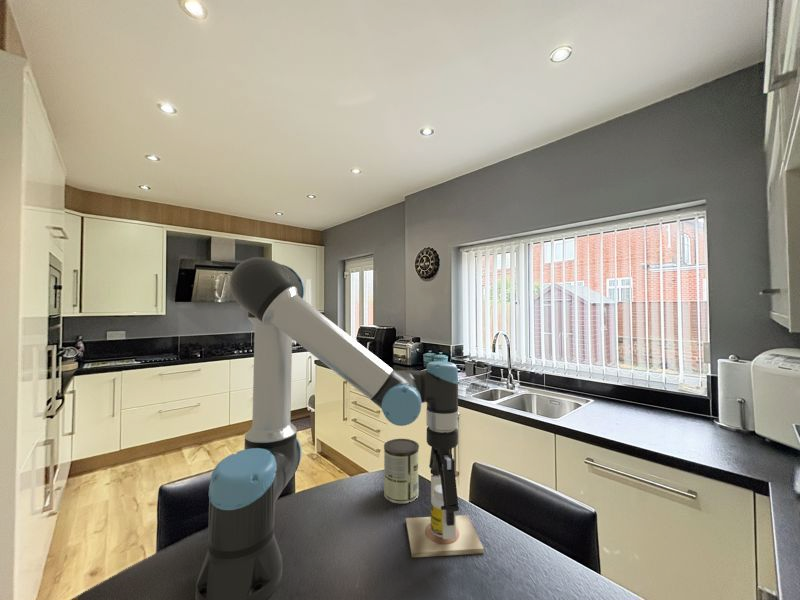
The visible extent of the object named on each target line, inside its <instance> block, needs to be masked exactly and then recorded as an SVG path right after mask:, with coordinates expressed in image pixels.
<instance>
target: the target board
mask: <svg viewBox="0 0 800 600" xmlns="http://www.w3.org/2000/svg"><path fill="white" fill-rule="evenodd" d="M405 524H406V531H407V537H408V543H409V549H410V555H411V558H424V557H425V558H427V557H429V558H430V557H444V556H459V555H460V556H462V555H475V554H476V555H477V554H484V553H485V551H484V550H485V549H484V546H483V544H482V542H481V540H480V537H479V536H478V533H477V531H476V529H475V527H474V525H473V523H472V521H471V519H470V517H469V515H468V514H462V515H460V514H459V515H456V539H443V538H441V537H438V536H436V535H434V534H433V533H432V531H431V516H423V517H422V516H419V517H406V518H405Z"/></svg>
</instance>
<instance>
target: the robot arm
mask: <svg viewBox="0 0 800 600" xmlns="http://www.w3.org/2000/svg"><path fill="white" fill-rule="evenodd" d="M233 269H234V270H233V271H232V273H231V275H230V279H229V289H230V293H231V295H232V298H233V299H234V300H235V301H236V302H237V304H239V305H240V306H241V307H242V308H243V309H245V310H246V311H247V319H248V320H249V321H250V322H251V323H252V324H253V326H254V338H253V341H254V342H253V343H254V344H253V345H254V346H253V377H252V379H253V382H252V385H253V387H252V423H251V424H252V426H251V427H250V428H249V430H247V431H246V432H245V435H244V448H243V449H242V450H238V451H237V452H236V453H231V454H229V455H227V456H226V457H224V458H223V459H222V460H220V461H219V462H218V464H216V466H215V467H214V468H213V470H212V473H211V475H210V483H209V487H208V498H209V499H208V500H209V501H208V504H209V505H208V528H207V529H208V531H207V532H208V533H207V534H208V538H207V541H208V543H207V552H206V555H205V557H204V558H205V559H204V560H203V563H202V566H201V569H200V572H199V574H198V577H197V580H196V585H195V593H194V594H195V597H194V599H195V600H268V599H269V598H270V597H271V596H272V595H273V594H274V592H275V591H276V590H277V588H278V587H279V585H280V583H281V580H282V577H283V555H282V553H281V550H280V548H279V544H278V541H277V539H276V535H275V514H276V513H275V509H276V508H275V507H276V502H277V500H278V498H279V497H280V496H281V494H282V492H283V490H284V489H285V488H286V486H287V485H288V483H290V481H291V479H292V477H293V476H295V473H296V472H297V470H298V468H299V466H300V462H301V459H302V446H301V442H300V440H299V438H297V433H298V432H297V431H298V430H297V427H296V426H295V425H294V424H293V423H292V422H291V414H292V413H291V412H292V411H291V407H292V403H291V402H292V361H293V360H292V359H293V358H292V356H293V355H292V354H293V341H295V343H297V344H298V345H299V346H301V347H302V348H303V349H305V350H306V351H307V352H309V353H310V354H311V355H312V356H314V357H315V358H316V359H318V360H319V361H320V362H321V363H323V364H324V365H326V366H327V367H328V368H329V369H331V370H332V371H333V372H334V373H336V375H338V376H340V377H341V378H342V380H344V381H346V382H347V383H348V384H350V385H351V386H352V387H353V388H354V389H356V390H357V391H359V392H360V393H361V394H363V395H364V396H365V397H366V398H368V399H369V400H370V401H371V402H373V403H374V404H375V405H376V406H378V407H379V408H380V409H381V412H382V413H383V415H384V417H385V418H386V420H387V421H388V422H389V423H391V424H392V425H395V426H399V427H405V426H408V425H410V424H412V423H413V422H415V421H416V420H417V419H418V418H419V416H420V414H421V409H422V403H423V404H424V403H426V409H425V410H426V426H427V427H426V444H427V445H428V446H430V447H431V450H430V457H429V465H428V467H429V469H430V474H431V475H430V500H431V499H432V497H433V496H434V487H435V486H437V485H441V486H442V494H443V502H444V506H441V510H443V539H456V516H457V515H456V513H457V512H459V510H460V507H459V500H458V491H457V489H458V488H457V481H456V480H457V479H456V478H457V477H456V470H455V469H456V466H455V465H456V464H455V463H456V460H455V458H453V455H452V453H451V450H452V449H454V448H456V447H457V446H458V444H459V429H458V427H459V419H458V418H459V417H461V414H460V412H459V376H458V375H459V373H458V366H457V365H456V363H454V362H450V361H442V360H441V361H439V360H438V361H429V362H428V363H427V364H426V368H425V370H424V369H423V370H395V369H393V367H390V366H389V364H387V363H385V361H383V360H382V359H380V358H379V357H378V356H377V355H376V354H374V353H373V352H372V351H370V350H369V349H368V348H366V347H365V346H364V345H362V344H361V343H360V342H359V341H357V339H355V338H353V337H352V336H351V335H349V334H348V333H347V332H346V331H345V330H343V329H342V328H341V327H339V325H337V324H335V323H334V322H333V321H332V320H331V319H329V318H328V317H327V316H325V315H324V314H322V312H320V311H319V310H318V309H317V308H315V307H314V306H312V305H311V304H310V303H309V302H308V301H306V300H305V299H304V297H305V283H304V282H303V279H302V278H301V276H300V275H299V274H298V273H297V272H296V271H295V270H294V269H293V268H291V267H290V266H288V265H285V264H281V263H280V262H279V263H278V262H276V261H274V260H272V259H270V258H266V257H260V256H259V257H258V256H257V257H256V256H255V257H254V256H253V257H251V258H248V259H247V258H246V259H244V260H243V261H241V262H240V263H238V264H237V266H235V268H233Z"/></svg>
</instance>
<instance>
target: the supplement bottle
mask: <svg viewBox="0 0 800 600" xmlns="http://www.w3.org/2000/svg"><path fill="white" fill-rule="evenodd" d="M441 506H444V502H443V494H442V486H441V485H437V486H435V487H434V496H433V497H432V499H431V498H430V517H431V531H432V533H433V534H434V535H436V536H438V537H441V538H443V510H441Z"/></svg>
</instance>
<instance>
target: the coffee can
mask: <svg viewBox="0 0 800 600" xmlns="http://www.w3.org/2000/svg"><path fill="white" fill-rule="evenodd" d="M419 448H420V445H419V443H418V442H417V441H415V440H412V439H410V438H409V439H408V438H394V439H391V440H387V441H386V442H385V443H384V445H383V450H384V451H383V453H384V454H383V455H384V456H383V457H384V458H383V460H384V461H383V462H384V463H383V467H384V469H383V471H384V472H383V473H384V474H383V475H384V477H383V482H384V484H383V487H384V488H383V495H384V498H385V499H386V500H387V501H388V500H389V502H390V503H393V504H400V505H402V504H409V502H410V503H413V502H414V501H416V500H417V499H418V498H419V494H420V493H419ZM416 498H417V499H416ZM415 499H416V500H415Z"/></svg>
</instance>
